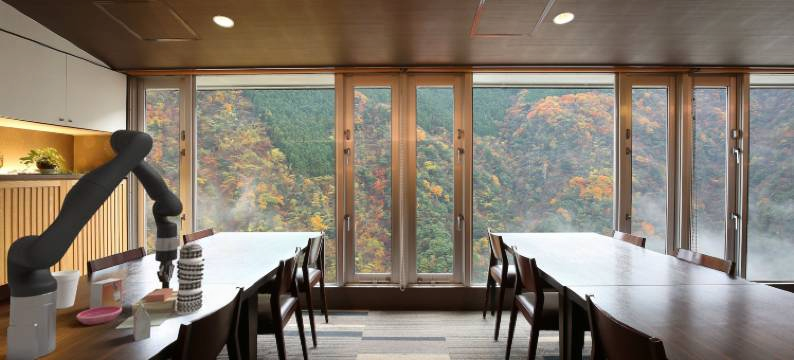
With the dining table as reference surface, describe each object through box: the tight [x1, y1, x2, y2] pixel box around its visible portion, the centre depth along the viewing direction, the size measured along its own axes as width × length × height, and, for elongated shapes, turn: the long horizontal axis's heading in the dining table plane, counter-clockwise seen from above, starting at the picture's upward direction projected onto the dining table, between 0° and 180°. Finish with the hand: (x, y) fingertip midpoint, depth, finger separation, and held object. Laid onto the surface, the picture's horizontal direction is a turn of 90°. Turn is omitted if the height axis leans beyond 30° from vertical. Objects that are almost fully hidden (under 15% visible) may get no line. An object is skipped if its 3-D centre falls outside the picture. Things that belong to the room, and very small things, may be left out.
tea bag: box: [132, 302, 152, 342], centre depth 113 cm, size 4×7×10 cm, turn 42°
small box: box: [89, 277, 123, 309], centre depth 138 cm, size 8×6×10 cm
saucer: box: [75, 306, 123, 326], centre depth 126 cm, size 12×12×3 cm
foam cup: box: [51, 269, 81, 310], centre depth 139 cm, size 10×9×13 cm
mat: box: [115, 313, 173, 330], centre depth 125 cm, size 12×13×1 cm
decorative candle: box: [176, 244, 205, 316], centre depth 136 cm, size 9×9×25 cm
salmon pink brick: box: [145, 287, 174, 302], centre depth 138 cm, size 9×6×2 cm, turn 14°
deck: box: [131, 290, 178, 316], centre depth 139 cm, size 16×13×4 cm
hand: (165, 291), depth 144 cm, fingers closed
